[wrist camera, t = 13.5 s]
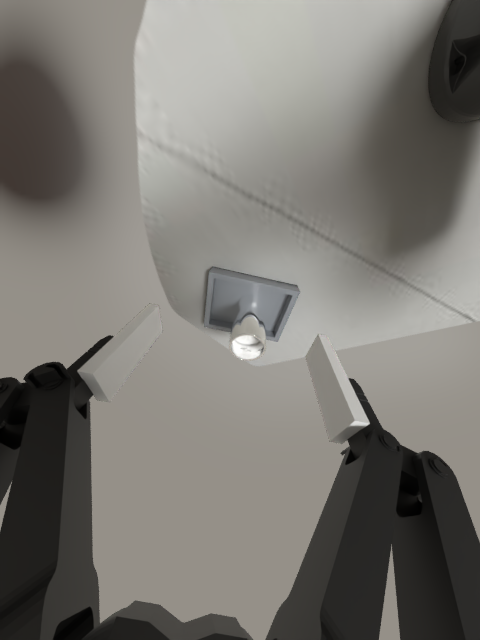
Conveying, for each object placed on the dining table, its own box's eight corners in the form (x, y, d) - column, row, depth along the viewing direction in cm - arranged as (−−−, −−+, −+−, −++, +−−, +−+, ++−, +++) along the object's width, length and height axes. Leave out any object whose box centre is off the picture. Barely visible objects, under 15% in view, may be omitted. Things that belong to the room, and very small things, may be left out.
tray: (296, 285, 39) (300, 292, 36) (276, 333, 48) (277, 341, 45) (212, 266, 38) (208, 271, 35) (207, 319, 47) (203, 326, 44)
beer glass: (264, 316, 44) (268, 360, 31) (238, 318, 45) (231, 362, 33) (262, 291, 40) (265, 331, 28) (233, 294, 41) (224, 334, 29)
